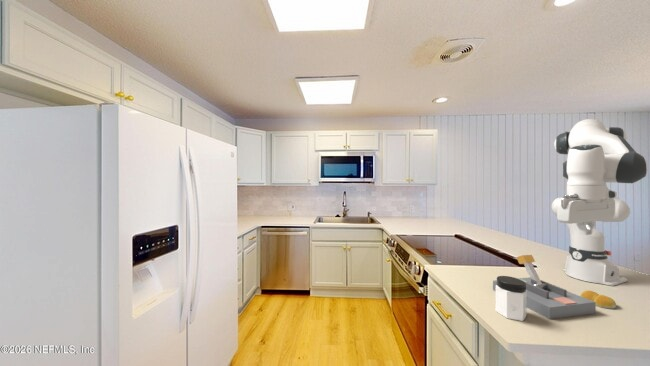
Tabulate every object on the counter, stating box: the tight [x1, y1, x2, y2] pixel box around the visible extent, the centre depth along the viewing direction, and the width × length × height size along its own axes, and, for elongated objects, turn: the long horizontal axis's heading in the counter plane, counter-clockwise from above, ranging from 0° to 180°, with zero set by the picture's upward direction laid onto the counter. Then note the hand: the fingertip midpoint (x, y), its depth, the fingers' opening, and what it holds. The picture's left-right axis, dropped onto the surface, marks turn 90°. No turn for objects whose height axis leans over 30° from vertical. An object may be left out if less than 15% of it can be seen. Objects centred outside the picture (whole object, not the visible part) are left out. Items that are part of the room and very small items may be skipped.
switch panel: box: [492, 276, 597, 320], centre depth 93 cm, size 20×22×6 cm
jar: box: [495, 275, 528, 322], centre depth 83 cm, size 9×8×12 cm
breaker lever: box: [516, 254, 548, 290], centre depth 96 cm, size 5×3×13 cm, turn 100°
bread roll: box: [579, 290, 617, 310], centre depth 91 cm, size 8×9×4 cm
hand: (585, 234), depth 79 cm, fingers closed
